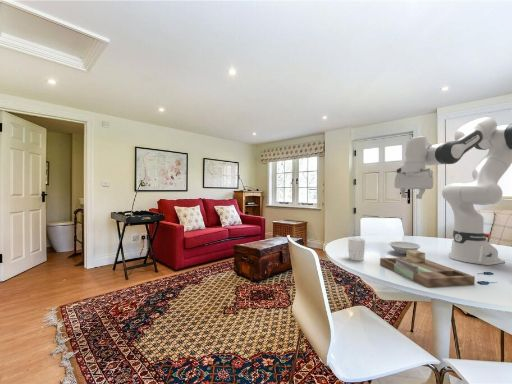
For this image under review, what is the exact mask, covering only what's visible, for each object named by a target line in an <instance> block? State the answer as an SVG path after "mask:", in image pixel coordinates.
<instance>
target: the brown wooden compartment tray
mask: <svg viewBox="0 0 512 384" xmlns="http://www.w3.org/2000/svg"><path fill="white" fill-rule="evenodd" d="M379 265H380V266H383V267H384V268H386V269H388V270H390V271H392V272H395V273H397V274H399V275H401V276H403V277H405V278H407V279H409V280H411V281H414V282H415V283H417V284H419V285H422V286H424V287H426V288H438V287H453V286H454V287H455V286H456V287H457V286H472V285H473V286H474V285H475V283H476V281H475V278H476V277H475V275H472V274H469V273H466V272H463V271H460V270H458V269H457V270H456V269H455V268H451V267H448V266H446V265H443V264H440V263H436V262H434V261H431V260H429V259H426V258H425V262H413V261H411V260H408V259H406V256H405V257H404V256H403V257H400V256H399V257H380V258H379Z"/></svg>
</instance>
